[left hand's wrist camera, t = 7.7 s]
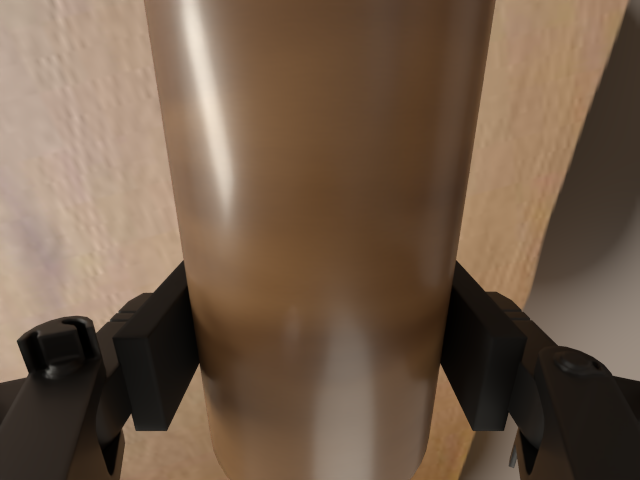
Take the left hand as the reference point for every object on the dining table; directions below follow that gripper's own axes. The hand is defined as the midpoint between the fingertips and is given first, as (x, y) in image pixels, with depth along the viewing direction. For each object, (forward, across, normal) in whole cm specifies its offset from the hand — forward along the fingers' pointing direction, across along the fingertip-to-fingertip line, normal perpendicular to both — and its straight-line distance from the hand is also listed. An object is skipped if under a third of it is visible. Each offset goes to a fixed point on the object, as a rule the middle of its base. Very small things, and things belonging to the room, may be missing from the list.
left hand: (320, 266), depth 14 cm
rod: (0, 0, -10) cm, 10 cm away
